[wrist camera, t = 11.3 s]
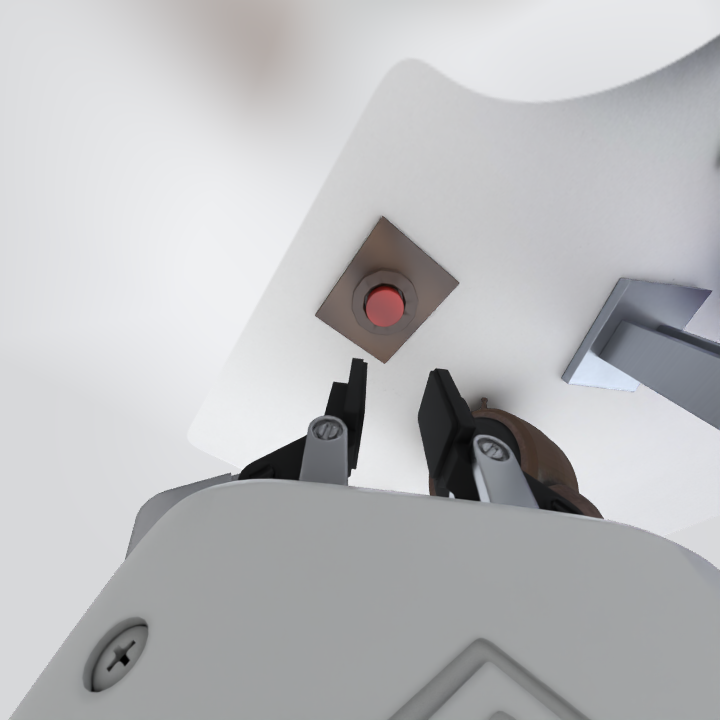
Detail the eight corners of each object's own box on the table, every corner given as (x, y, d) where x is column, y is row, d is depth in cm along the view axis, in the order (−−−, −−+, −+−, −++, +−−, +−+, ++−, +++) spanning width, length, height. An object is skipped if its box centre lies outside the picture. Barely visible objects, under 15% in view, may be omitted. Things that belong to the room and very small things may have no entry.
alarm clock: (487, 375, 31) (630, 570, 14) (526, 403, 33) (698, 609, 15) (411, 442, 37) (442, 636, 20) (447, 463, 39) (506, 659, 22)
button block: (382, 215, 24) (383, 215, 22) (457, 281, 26) (465, 287, 24) (316, 313, 29) (311, 321, 27) (384, 361, 31) (385, 372, 29)
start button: (381, 278, 24) (381, 282, 23) (409, 300, 25) (411, 305, 24) (359, 307, 26) (358, 312, 24) (386, 327, 27) (387, 333, 25)
